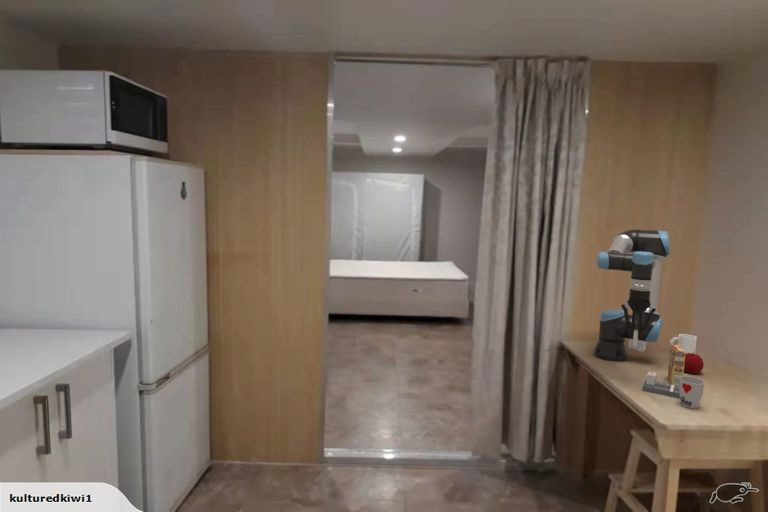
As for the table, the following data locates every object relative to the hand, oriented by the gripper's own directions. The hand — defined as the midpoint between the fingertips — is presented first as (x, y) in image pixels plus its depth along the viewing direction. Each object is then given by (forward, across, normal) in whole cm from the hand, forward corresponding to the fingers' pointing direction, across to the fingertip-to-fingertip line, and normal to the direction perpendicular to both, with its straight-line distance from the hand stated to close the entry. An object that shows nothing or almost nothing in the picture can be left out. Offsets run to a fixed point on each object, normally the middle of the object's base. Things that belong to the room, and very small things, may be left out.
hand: (635, 345), depth 203 cm
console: (+17, +14, 0) cm, 22 cm away
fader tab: (+15, +7, 0) cm, 16 cm away
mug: (+17, +14, +64) cm, 68 cm away
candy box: (+17, +14, +15) cm, 27 cm away
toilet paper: (+17, -6, +61) cm, 64 cm away
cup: (+17, +21, -10) cm, 29 cm away
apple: (+17, +20, +35) cm, 44 cm away
